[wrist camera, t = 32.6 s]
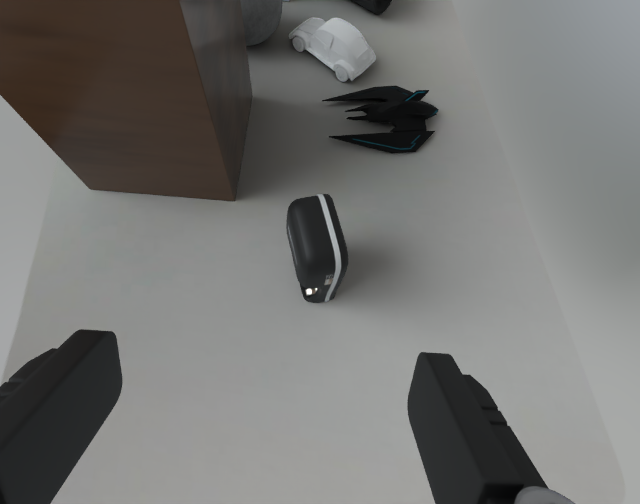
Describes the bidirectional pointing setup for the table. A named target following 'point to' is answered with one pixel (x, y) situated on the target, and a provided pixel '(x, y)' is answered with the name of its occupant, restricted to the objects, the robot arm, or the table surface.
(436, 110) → the black starfighter toy
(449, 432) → the robot arm
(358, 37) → the car
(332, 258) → the battery charger
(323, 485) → the table surface
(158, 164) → the riser
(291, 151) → the table surface
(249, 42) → the decorative ball
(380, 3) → the light fixture
